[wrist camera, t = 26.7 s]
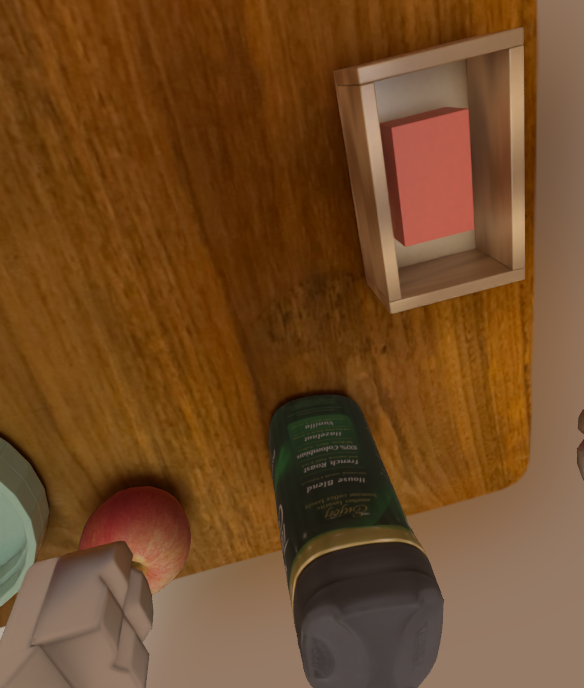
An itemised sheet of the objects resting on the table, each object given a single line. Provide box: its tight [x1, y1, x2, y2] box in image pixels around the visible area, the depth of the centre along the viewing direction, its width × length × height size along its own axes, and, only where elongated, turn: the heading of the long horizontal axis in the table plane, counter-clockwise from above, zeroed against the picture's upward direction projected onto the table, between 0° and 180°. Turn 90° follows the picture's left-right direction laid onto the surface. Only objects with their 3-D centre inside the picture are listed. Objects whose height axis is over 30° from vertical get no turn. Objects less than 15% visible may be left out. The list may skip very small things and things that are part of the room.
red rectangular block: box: [379, 107, 475, 247], centre depth 32 cm, size 7×4×3 cm, turn 12°
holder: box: [333, 27, 525, 314], centre depth 31 cm, size 14×9×6 cm, turn 12°
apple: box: [79, 486, 191, 595], centre depth 39 cm, size 8×8×8 cm
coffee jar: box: [269, 394, 444, 688], centre depth 34 cm, size 10×8×19 cm
